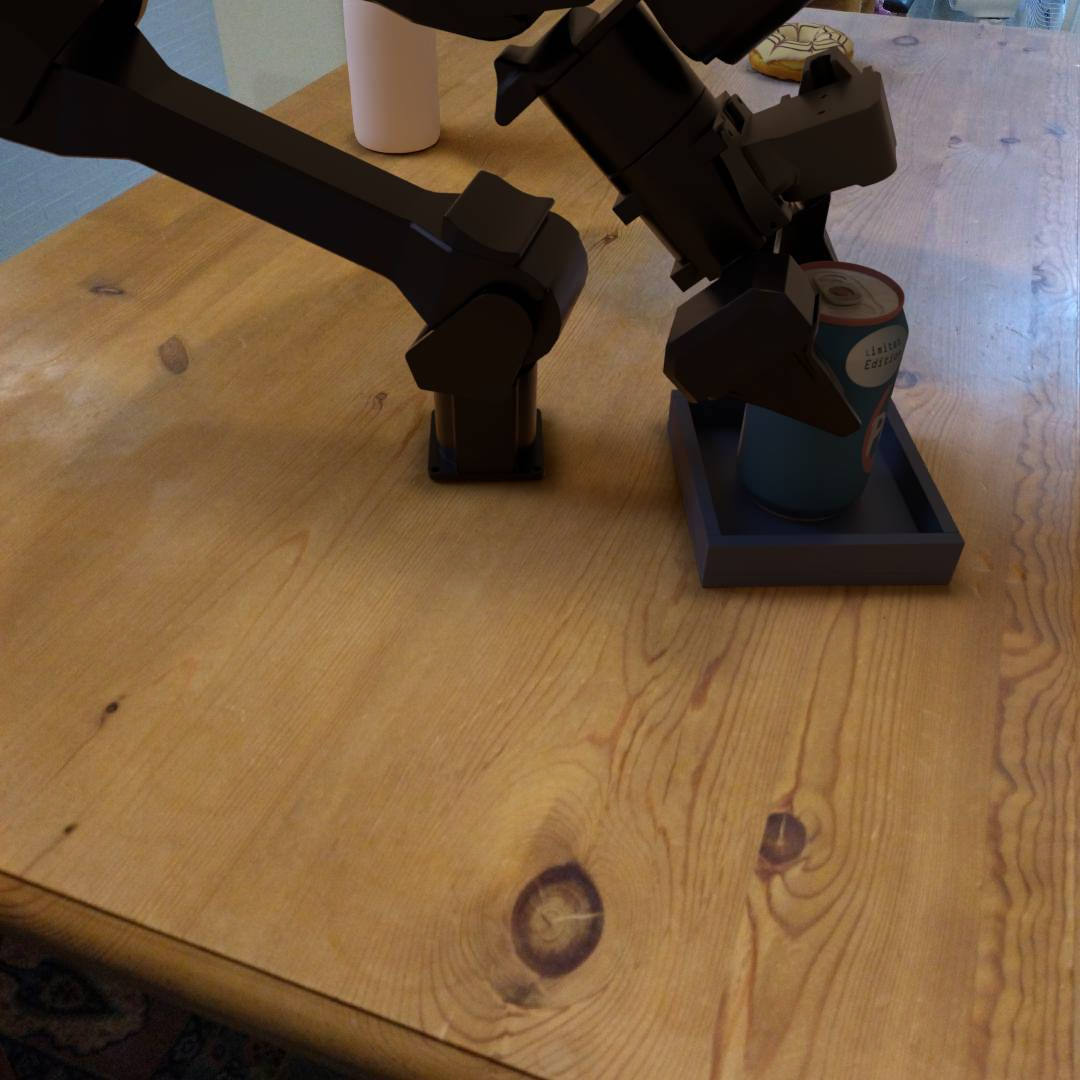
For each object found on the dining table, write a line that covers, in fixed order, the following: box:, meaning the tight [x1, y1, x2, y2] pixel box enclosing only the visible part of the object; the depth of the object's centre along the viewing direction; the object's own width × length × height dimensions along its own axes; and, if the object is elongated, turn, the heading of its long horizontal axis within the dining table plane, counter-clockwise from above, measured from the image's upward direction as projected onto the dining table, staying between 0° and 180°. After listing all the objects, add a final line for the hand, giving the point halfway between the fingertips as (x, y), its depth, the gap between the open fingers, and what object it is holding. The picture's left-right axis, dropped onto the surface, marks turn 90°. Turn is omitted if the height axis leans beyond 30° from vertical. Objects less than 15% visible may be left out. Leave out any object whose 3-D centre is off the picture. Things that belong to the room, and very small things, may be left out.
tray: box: [666, 388, 966, 588], centre depth 57 cm, size 14×13×3 cm
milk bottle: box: [342, 0, 441, 154], centre depth 89 cm, size 8×8×20 cm
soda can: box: [736, 260, 910, 522], centre depth 54 cm, size 7×7×12 cm
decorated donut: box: [748, 22, 855, 82], centre depth 111 cm, size 10×11×4 cm
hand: (854, 378), depth 52 cm, fingers open, 9 cm apart
